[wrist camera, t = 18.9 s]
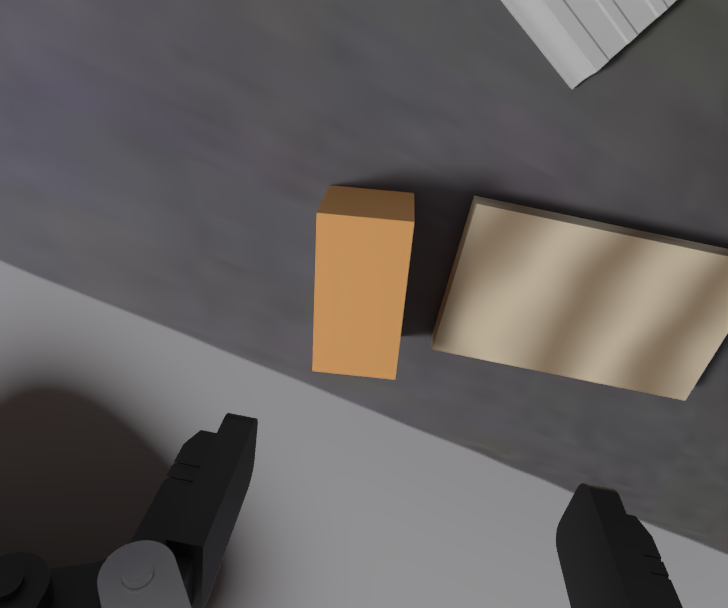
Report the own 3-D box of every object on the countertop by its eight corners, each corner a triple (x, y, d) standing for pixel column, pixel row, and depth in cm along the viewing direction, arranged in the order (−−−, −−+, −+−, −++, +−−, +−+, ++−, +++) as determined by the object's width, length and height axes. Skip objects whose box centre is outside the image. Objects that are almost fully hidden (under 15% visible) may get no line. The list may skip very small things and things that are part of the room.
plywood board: (755, 254, 32) (770, 265, 30) (675, 386, 36) (685, 400, 35) (474, 195, 31) (476, 203, 30) (431, 337, 36) (432, 349, 35)
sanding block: (414, 191, 32) (414, 221, 27) (397, 335, 36) (395, 379, 32) (329, 184, 32) (316, 212, 27) (324, 327, 37) (312, 371, 32)
